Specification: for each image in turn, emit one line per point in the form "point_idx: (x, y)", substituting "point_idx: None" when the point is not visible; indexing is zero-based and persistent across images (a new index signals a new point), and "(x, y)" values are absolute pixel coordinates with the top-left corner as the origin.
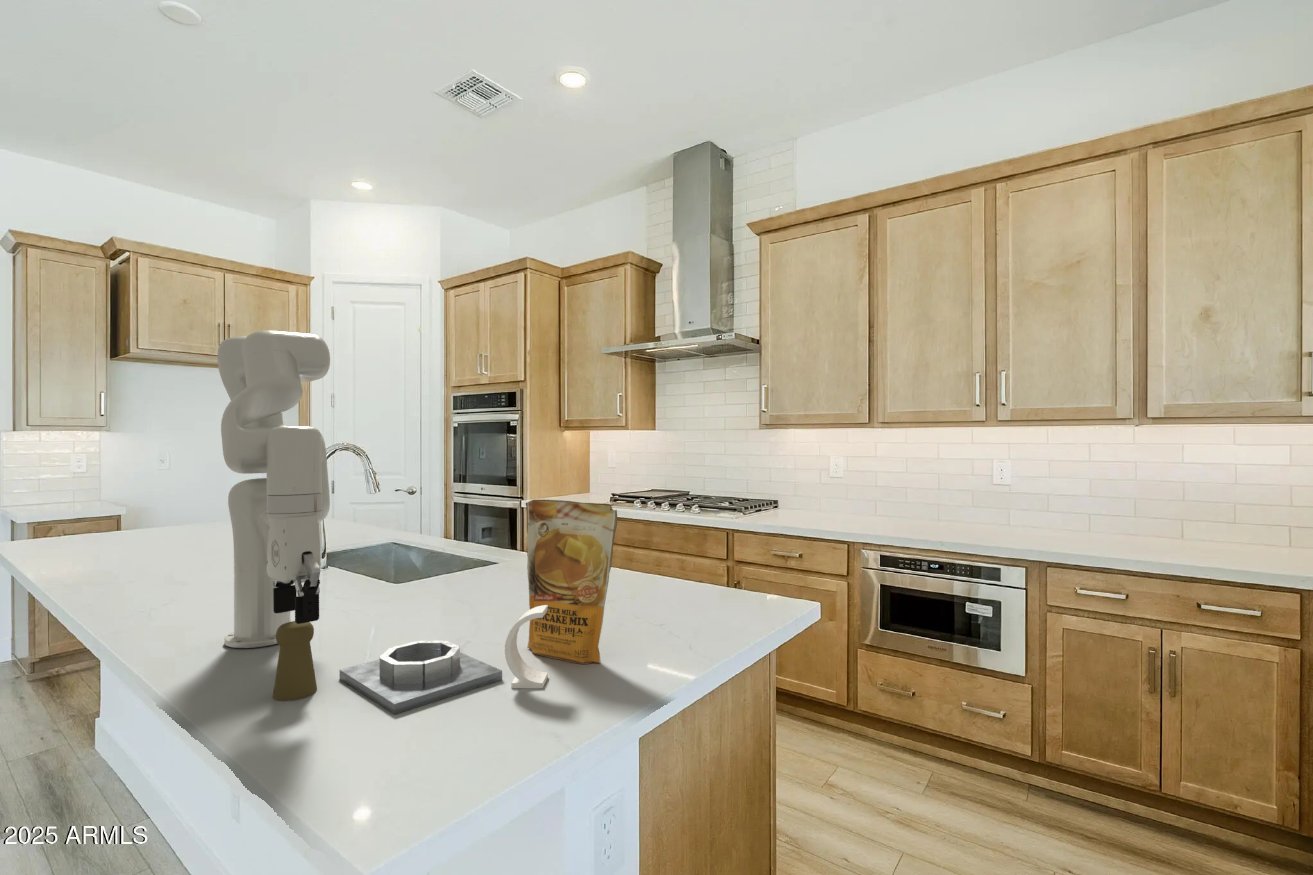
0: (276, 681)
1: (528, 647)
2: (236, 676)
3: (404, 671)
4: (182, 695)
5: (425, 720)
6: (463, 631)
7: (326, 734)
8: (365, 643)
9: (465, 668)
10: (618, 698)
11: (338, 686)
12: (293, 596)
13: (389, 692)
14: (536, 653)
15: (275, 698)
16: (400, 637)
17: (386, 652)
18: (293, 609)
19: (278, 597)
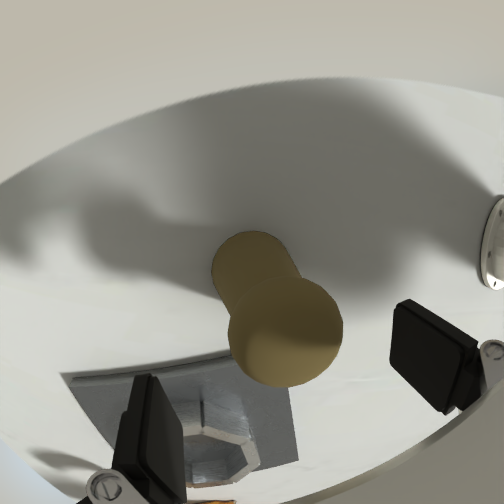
0: (247, 244)
1: (234, 501)
2: (405, 186)
3: None
4: (364, 98)
5: (49, 393)
6: (351, 461)
7: (39, 292)
8: None
9: None
10: (69, 487)
11: None
12: (418, 385)
13: (114, 395)
14: (209, 502)
15: (237, 235)
16: (393, 408)
17: (226, 434)
18: (390, 357)
19: (433, 342)
